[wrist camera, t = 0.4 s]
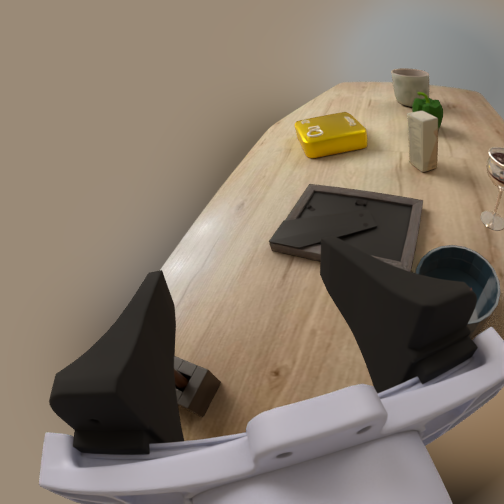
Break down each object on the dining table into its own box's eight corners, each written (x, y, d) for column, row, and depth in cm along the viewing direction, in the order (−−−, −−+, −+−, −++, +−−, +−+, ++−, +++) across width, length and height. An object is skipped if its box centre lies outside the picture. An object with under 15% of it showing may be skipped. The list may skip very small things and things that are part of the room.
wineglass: (491, 203, 38) (503, 144, 30) (515, 226, 33) (533, 165, 25) (469, 213, 39) (480, 150, 31) (493, 239, 34) (511, 173, 26)
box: (437, 168, 49) (439, 118, 41) (422, 173, 49) (423, 121, 42) (422, 157, 53) (422, 109, 45) (407, 161, 53) (406, 112, 45)
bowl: (502, 319, 26) (515, 298, 23) (435, 359, 26) (446, 341, 23) (459, 258, 34) (466, 235, 31) (395, 286, 35) (398, 263, 32)
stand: (221, 382, 32) (208, 369, 30) (203, 417, 30) (187, 408, 27) (188, 368, 35) (173, 355, 32) (170, 401, 32) (153, 391, 29)
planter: (386, 101, 79) (383, 70, 71) (412, 96, 79) (409, 67, 72) (413, 112, 70) (410, 78, 62) (437, 106, 70) (436, 74, 63)
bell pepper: (447, 128, 59) (447, 94, 52) (435, 137, 57) (435, 100, 50) (422, 120, 65) (420, 86, 58) (408, 128, 63) (406, 92, 56)
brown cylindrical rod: (201, 396, 32) (157, 363, 25) (190, 398, 32) (145, 365, 25) (200, 386, 33) (157, 350, 26) (189, 388, 33) (145, 353, 26)
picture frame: (271, 250, 46) (408, 281, 35) (268, 241, 44) (410, 271, 33) (310, 190, 54) (422, 207, 43) (309, 182, 53) (423, 198, 41)
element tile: (370, 148, 60) (368, 129, 57) (307, 160, 62) (303, 141, 59) (349, 125, 71) (347, 109, 67) (296, 136, 73) (292, 119, 70)
